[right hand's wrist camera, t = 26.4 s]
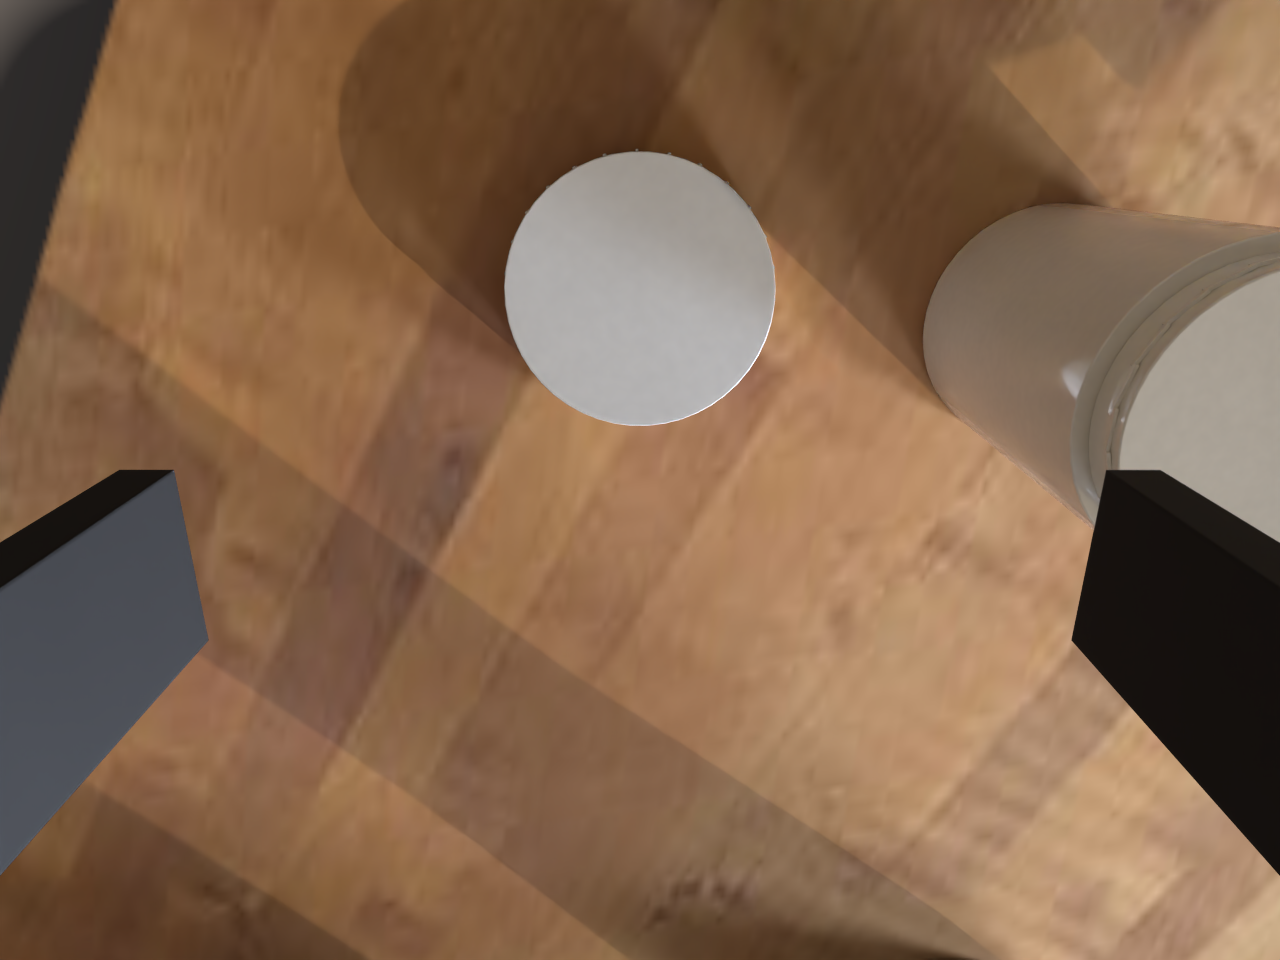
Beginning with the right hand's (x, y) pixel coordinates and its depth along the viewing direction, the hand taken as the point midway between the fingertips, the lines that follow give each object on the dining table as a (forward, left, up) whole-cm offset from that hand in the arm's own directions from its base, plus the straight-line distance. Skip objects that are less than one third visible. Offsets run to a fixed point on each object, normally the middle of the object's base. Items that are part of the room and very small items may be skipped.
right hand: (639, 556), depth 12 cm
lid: (0, 0, -25) cm, 25 cm away
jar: (-13, -11, -26) cm, 32 cm away
